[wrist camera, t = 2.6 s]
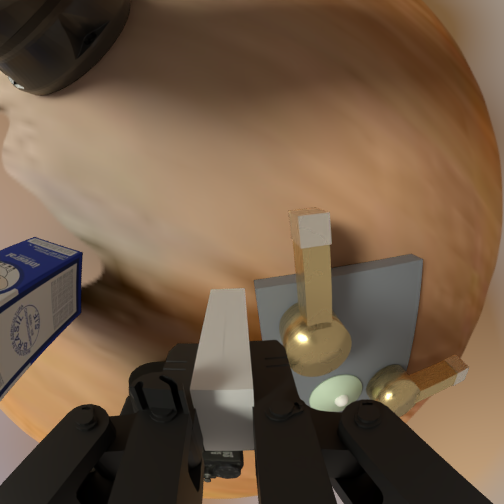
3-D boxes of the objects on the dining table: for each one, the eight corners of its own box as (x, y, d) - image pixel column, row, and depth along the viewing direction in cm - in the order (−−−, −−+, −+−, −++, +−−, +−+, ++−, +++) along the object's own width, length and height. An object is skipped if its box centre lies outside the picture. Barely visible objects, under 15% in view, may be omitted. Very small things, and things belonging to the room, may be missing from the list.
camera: (247, 363, 26) (252, 440, 16) (239, 426, 29) (242, 492, 19) (116, 348, 25) (78, 412, 15) (131, 412, 28) (110, 472, 18)
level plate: (253, 280, 24) (256, 294, 21) (411, 253, 24) (429, 262, 21) (278, 455, 31) (281, 471, 28) (381, 429, 31) (388, 442, 28)
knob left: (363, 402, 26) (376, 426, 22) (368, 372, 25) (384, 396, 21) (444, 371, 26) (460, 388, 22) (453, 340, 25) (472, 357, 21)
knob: (334, 343, 23) (350, 369, 19) (281, 353, 23) (289, 382, 19) (330, 203, 20) (351, 209, 16) (265, 211, 20) (272, 219, 16)
